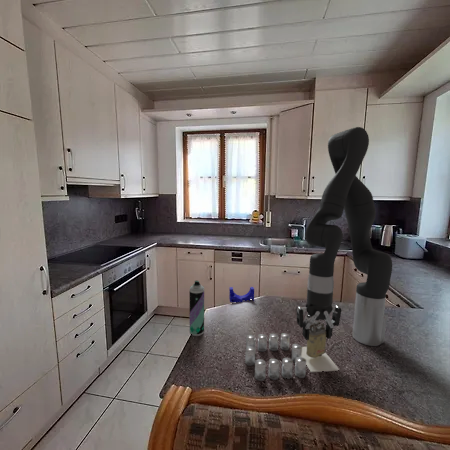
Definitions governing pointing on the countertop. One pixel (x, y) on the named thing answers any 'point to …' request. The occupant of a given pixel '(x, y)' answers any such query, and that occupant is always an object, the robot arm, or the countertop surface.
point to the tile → (319, 362)
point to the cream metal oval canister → (316, 340)
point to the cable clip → (238, 298)
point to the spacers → (274, 363)
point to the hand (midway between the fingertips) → (316, 337)
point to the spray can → (196, 309)
